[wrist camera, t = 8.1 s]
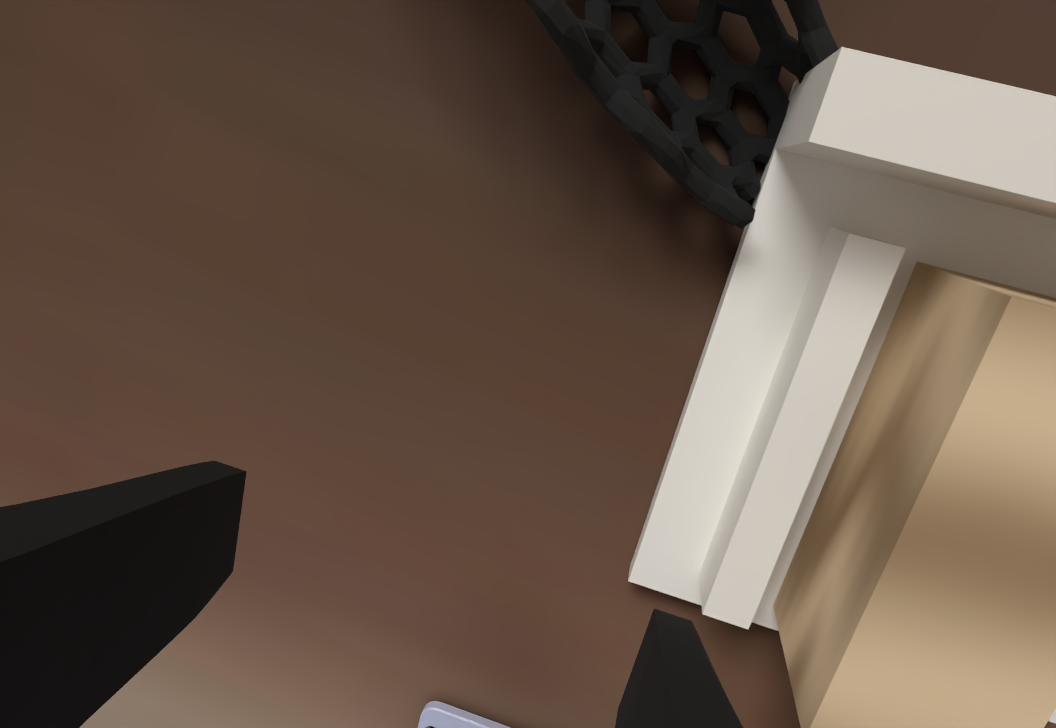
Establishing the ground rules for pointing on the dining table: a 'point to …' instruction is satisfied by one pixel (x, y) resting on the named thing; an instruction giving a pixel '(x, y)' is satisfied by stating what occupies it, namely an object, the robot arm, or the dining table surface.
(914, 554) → the tan block
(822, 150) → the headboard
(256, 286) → the dining table surface
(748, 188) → the decorative element
